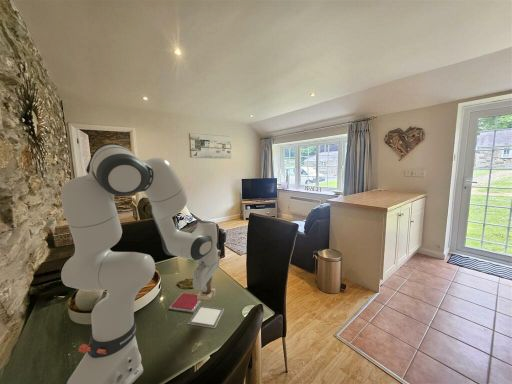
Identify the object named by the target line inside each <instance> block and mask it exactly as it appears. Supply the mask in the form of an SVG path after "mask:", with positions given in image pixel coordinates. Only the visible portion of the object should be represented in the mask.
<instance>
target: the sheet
mask: <svg viewBox="0 0 512 384" xmlns="http://www.w3.org/2000/svg"><path fill="white" fill-rule="evenodd" d="M196 309H197V310H195V311H194V314H193V315H192V316H191V318H190V320H189V321H188V322H187V325H193V326H198V327H199V326H200V327H205V328H212V329H215V328H216V327H217V325H218V323H219V322H220V319H221V317H222V315H223V312H224V310H225V308H223V307H214V306H208V305H200V304H199V305H198V307H197V308H196Z"/></svg>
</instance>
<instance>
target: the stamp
mask: <svg viewBox="0 0 512 384" xmlns="http://www.w3.org/2000/svg"><path fill="white" fill-rule="evenodd" d="M206 286H207V291H206V292H203V291H202V290H199V292H198V293H197V300H199V301H201V302H208V303H211V302H212V301H213V299H214V297H215V296H216V294H217V293H216V292H217V291H216V288H213V287H212V284H211V278H210V279H209V281H208V282H207V284H206Z"/></svg>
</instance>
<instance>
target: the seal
mask: <svg viewBox="0 0 512 384" xmlns="http://www.w3.org/2000/svg"><path fill="white" fill-rule="evenodd" d="M176 285H177V286H178V288H180V289H184V290H191V289H194V288H193V278H185V279H183V280H180V281H177V283H176Z"/></svg>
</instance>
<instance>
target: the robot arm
mask: <svg viewBox="0 0 512 384" xmlns="http://www.w3.org/2000/svg"><path fill="white" fill-rule="evenodd" d="M85 171H86V173H87V174H86V175H81V176H77V177H73V178H71V179H70V180H68V181H66V182H65V183H64V184H63V185H62V187H61V189H60V196H61V204H62V209H63V214H64V217H65V220H66V223H67V226H68V229H69V231H70V233H71V238H72V240H73V244H74V253H73V255H72V256H70V258H68V259H67V260H66V261H65V263H64V265H63V266H62V269H61V273H60V276H61V278H60V279H61V282H62V283H63V285H64V286H65V287H69V288H73V289H77V290H82V291H94V290H95V291H98V290H99V291H101V290H103V291H104V290H105V291H107V293H108V295H107V296H105V297H104V298H102V299H101V300H99V301H98V302H97V303H96V304H95V305H94V307H93V308H92V311H91V314H90V317H91V321H90V322H91V331H92V332H91V335H90V339H89V342H88V344H86V343H82V344H81V345H79V348H78V353H83V354H84V356H83V357H82V359H81V360H80V362H79V364H78V365H77V366H76V367H75V369H74V371H73V373H72V374H71V375H70V377H69V378H68V380H67V382H66V384H133V383H134V382H135V381H136V380H137V379H138V378H139V377H140V376H141V375H142V374H143V373H144V367H143V364H142V355H141V353H140V351H139V346H138V342H137V338H136V334H137V324H136V319H135V316H134V315H135V312H134V311H135V309H134V308H135V299H136V297H137V295H138V294H139V292H140V291H141V290H142V289H143V288H144V287H146V286H147V285H148V284H149V283H150V282H151V281H152V279H153V278H154V276H155V272H156V264H155V259H154V258H153V257H152V256H151V255H150V254H147V253H142V252H137V251H113V250H111V248H113V247H114V246H115V245H117V244H118V243H119V241H120V240H121V238H122V234H123V228H122V224H121V221H120V217H119V213H118V209H117V207H116V202H115V196H119V197H125V196H127V197H128V196H131V195H135V194H137V193H140V192H144V194H145V195H146V198H147V199H148V201H149V203H150V205H151V208H150V213H151V216H152V219H153V221H154V224H155V226H156V227H155V228H156V229H157V232H158V234H159V237H160V239H161V246H162V250H163V252H164V253H165V255H167V256H174V257H179V258H184V259H189V260H193V261H196V262H195V263H196V264H197V265H198V266H196V269H195V270H194V271H193V274H192V275H193V277H192V279H193V288H192V289H194V290H197V291H198V290H199V291H201V290H202V291H203V292H206V291H207V286H206V284H207V282H208V281H209V279H210V278H211V285H212V284H213V278H214V274H215V273H216V271H217V270H218V269H219V267H220V259H221V257H220V255H221V249H218V247H217V243H218V227H217V224H216V223H215V222H214V221H211V220H199V221H198V222H197V223H196V227H195V229H194V230H193V231H192V232H188V231H183V230H180V229H178V228H177V227H176V225H175V222H174V219H173V217H175V216H176V215H179V213H181V212H182V211H183V210H184V208H185V207H186V205H187V201H188V197H187V196H188V195H187V193H186V190H185V188H184V185H183V184H182V183H183V182H182V181H181V179H180V177H179V175H178V173H177V172H176V170H175V169H174V167H173V166H172V164H171V162H169V161H168V160H167V159H165V158H162V157H152V158H149V159H147V160H141V159H140V158H139V157H138V156H137V155H136V153H134V152H133V151H131V150H130V149H129V148H127V147H126V146H124V145H121V144H119V143H113V142H112V143H111V142H110V143H104V144H102V145H101V144H100V145H99V146H98V147H97V148H96V149H95V150H94V151H93V152H92V154H91V156H90V159H89V161H88V165H87V166H86V170H85Z"/></svg>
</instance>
